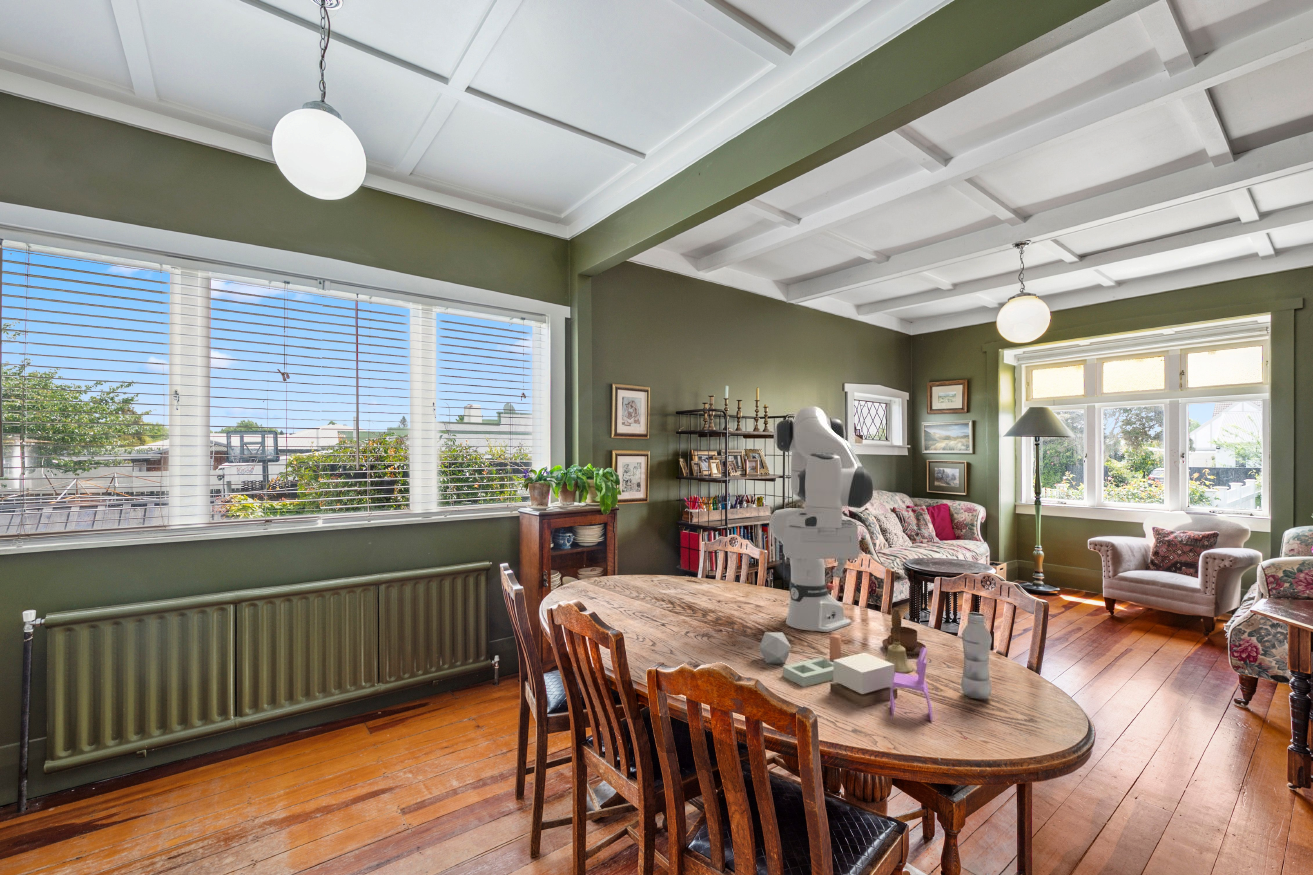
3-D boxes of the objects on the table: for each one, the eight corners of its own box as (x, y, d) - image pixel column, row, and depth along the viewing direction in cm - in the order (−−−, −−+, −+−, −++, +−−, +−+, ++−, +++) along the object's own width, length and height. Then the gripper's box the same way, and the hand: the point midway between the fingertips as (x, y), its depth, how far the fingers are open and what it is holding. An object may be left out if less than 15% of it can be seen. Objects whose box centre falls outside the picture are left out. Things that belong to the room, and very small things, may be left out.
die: (783, 672, 158) (799, 640, 161) (755, 654, 160) (772, 623, 163) (777, 672, 166) (792, 641, 169) (750, 655, 168) (766, 625, 171)
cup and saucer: (914, 661, 166) (914, 639, 166) (874, 650, 175) (874, 629, 175) (933, 651, 174) (933, 630, 174) (894, 641, 183) (894, 621, 183)
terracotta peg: (835, 662, 164) (835, 633, 164) (843, 666, 161) (843, 636, 161) (827, 664, 163) (827, 635, 163) (835, 668, 160) (835, 638, 160)
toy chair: (891, 701, 139) (892, 638, 140) (932, 709, 136) (932, 644, 136) (889, 716, 132) (889, 649, 132) (932, 724, 128) (932, 655, 128)
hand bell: (875, 667, 161) (876, 609, 161) (887, 659, 167) (887, 603, 167) (906, 675, 155) (907, 615, 155) (917, 667, 161) (918, 609, 161)
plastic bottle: (954, 694, 144) (954, 612, 144) (974, 689, 146) (974, 609, 147) (978, 705, 138) (978, 619, 138) (998, 700, 140) (998, 616, 141)
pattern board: (864, 682, 151) (864, 672, 151) (897, 697, 142) (897, 687, 142) (830, 691, 145) (830, 681, 145) (862, 707, 136) (862, 697, 136)
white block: (864, 672, 150) (864, 652, 150) (894, 685, 142) (894, 664, 142) (833, 680, 145) (833, 660, 145) (862, 694, 137) (862, 672, 137)
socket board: (821, 666, 161) (821, 657, 161) (844, 676, 154) (844, 667, 154) (782, 675, 154) (782, 666, 154) (803, 687, 147) (803, 677, 147)
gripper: (848, 519, 148) (847, 574, 147) (780, 517, 141) (778, 576, 139) (866, 521, 142) (865, 579, 141) (795, 519, 135) (794, 580, 134)
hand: (821, 577), depth 140 cm, fingers open, 8 cm apart
